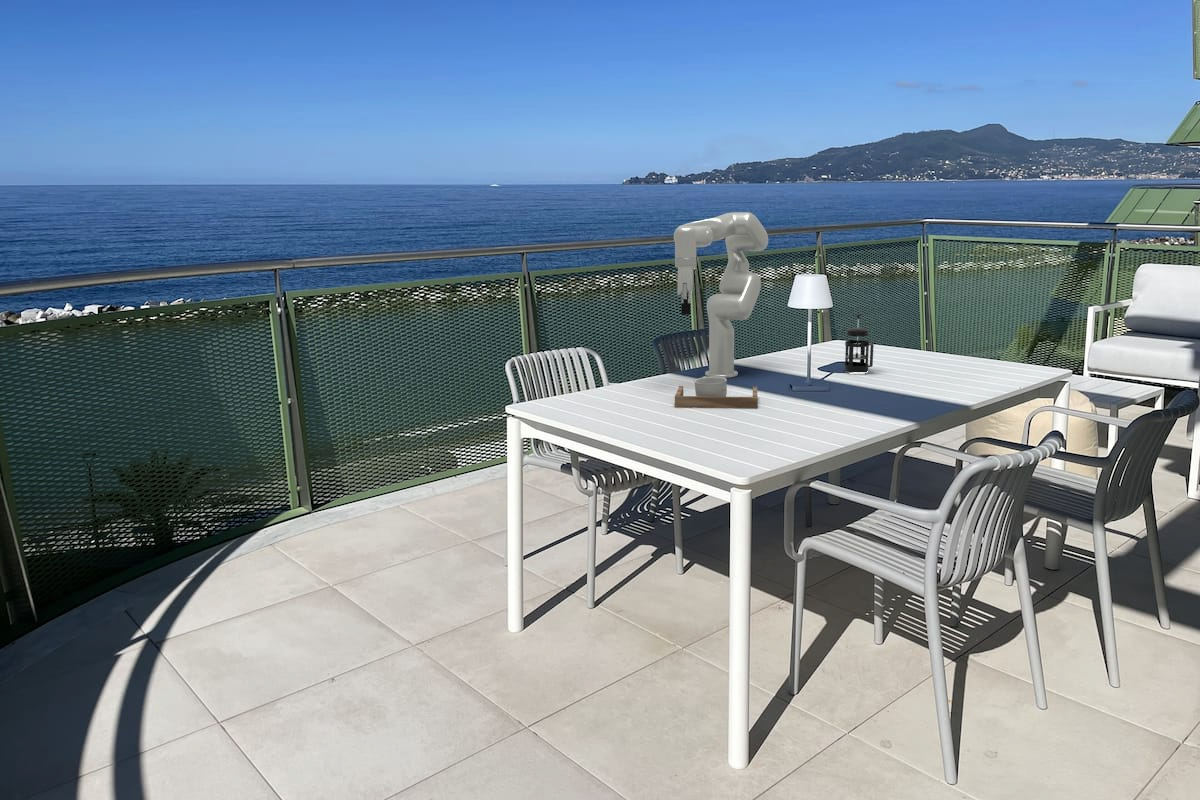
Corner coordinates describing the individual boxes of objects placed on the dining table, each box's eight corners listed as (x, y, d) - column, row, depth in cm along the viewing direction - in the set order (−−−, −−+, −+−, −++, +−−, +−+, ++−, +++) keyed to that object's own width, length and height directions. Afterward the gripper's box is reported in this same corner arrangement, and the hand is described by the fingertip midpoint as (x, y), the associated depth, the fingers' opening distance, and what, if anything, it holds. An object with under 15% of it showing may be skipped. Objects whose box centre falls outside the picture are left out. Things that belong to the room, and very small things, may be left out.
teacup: (728, 405, 286) (728, 382, 284) (695, 406, 287) (695, 382, 285) (723, 396, 300) (723, 374, 298) (692, 397, 300) (692, 374, 298)
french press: (837, 372, 335) (839, 313, 330) (850, 369, 341) (852, 311, 336) (864, 376, 326) (867, 316, 321) (877, 372, 333) (880, 313, 328)
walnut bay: (679, 395, 303) (679, 385, 302) (757, 396, 298) (757, 386, 297) (674, 407, 286) (674, 397, 285) (757, 408, 281) (757, 397, 281)
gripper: (676, 261, 313) (677, 311, 317) (673, 264, 298) (673, 317, 302) (697, 261, 311) (697, 311, 315) (695, 264, 297) (695, 317, 301)
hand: (686, 314), depth 309 cm, fingers closed
